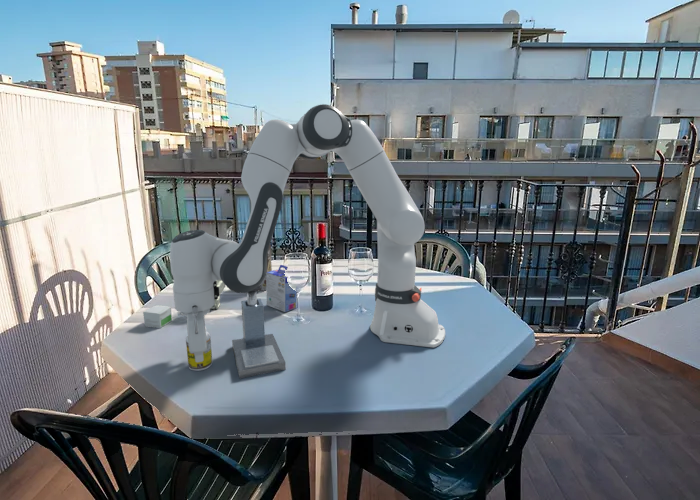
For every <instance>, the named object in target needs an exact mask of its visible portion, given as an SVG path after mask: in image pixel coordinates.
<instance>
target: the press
mask: <svg viewBox="0 0 700 500" xmlns="http://www.w3.org/2000/svg"><path fill="white" fill-rule="evenodd" d="M240 303H241V317H242V318H241V319H242V320H241V321H242V335H243V337H242V338H238V339H232V340H231V342H232V343H231V344H232V350H233V355H234V361H235V364H236V365H235V366H236V368H237V369H236V370H237V373H238V374H237V375H238V378H239V379H240V380H241V379H244V378H249V377H255V376H261V375H263V374H271V373H274V372H275V373H276V372H280V371H284V370H286V368H287V367H286V360H285V359H284V356H283V354H282V351H281V349H280V347H279V345H278V343H277V341H276V338H275V336H274V333H268V334H265V332H266V331H265V313H264V312H265V311H264V310H265V309H264V308H265V307H264V306H265V305H264V303H263V301H262V300H261V298H257V305H254V306H248V302H247V299H245V300H241V302H240Z"/></svg>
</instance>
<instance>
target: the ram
mask: <svg viewBox="0 0 700 500" xmlns="http://www.w3.org/2000/svg"><path fill="white" fill-rule="evenodd" d="M261 289H262V283H261V284H260V285H259V286H258V287H257V288H255V289H254V290H252V291H249V292H246V296H247V297H246V300H247V302H248V306H254V305H257V299H258V298H257V296H258V295H257V292H259V291H262V290H261Z"/></svg>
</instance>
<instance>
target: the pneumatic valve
mask: <svg viewBox="0 0 700 500" xmlns="http://www.w3.org/2000/svg"><path fill="white" fill-rule="evenodd" d="M213 287H214V300H215V304H214V306H213V307H211V308H210V310H211V309H212V310H214V309H215V310H219V309H220V307H221V306H222V305H221V297H220V296H221V294H222V293H223V291H224V290H225V288H226V285H225V284H224V283H223V281H221V280H216V281H214V283H213Z"/></svg>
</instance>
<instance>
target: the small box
mask: <svg viewBox="0 0 700 500" xmlns="http://www.w3.org/2000/svg"><path fill="white" fill-rule="evenodd" d="M142 314H143V321H144V323H143V324H144V327H147V326H149V327H148V328H155V327H156V329H161V328H162V327H164V326H166V325H167V324H169V323H170V322H173V314H172V307H171V306H167V305H161V304H160V305H158V304H155V305H154V306H151V307H149V308H148V309H146V310H144V311H143V313H142Z"/></svg>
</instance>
